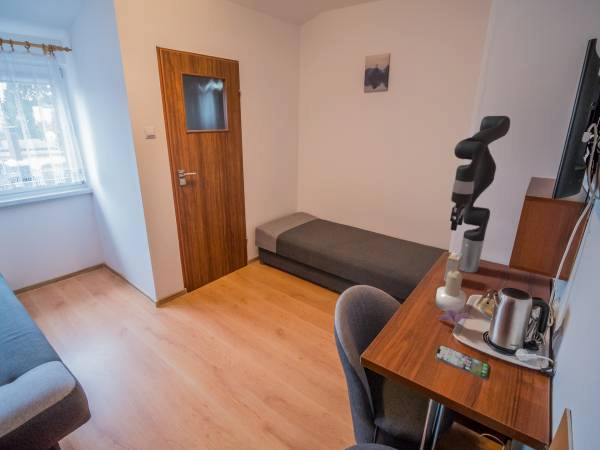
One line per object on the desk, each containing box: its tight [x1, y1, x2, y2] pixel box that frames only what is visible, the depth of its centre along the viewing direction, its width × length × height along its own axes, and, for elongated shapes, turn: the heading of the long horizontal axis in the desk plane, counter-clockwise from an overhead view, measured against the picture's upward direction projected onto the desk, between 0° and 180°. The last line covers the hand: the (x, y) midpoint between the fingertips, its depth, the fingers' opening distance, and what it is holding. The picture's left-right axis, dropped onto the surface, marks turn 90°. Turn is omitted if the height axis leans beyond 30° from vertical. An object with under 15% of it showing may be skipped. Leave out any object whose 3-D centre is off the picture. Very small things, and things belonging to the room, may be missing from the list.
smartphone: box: [434, 344, 491, 380], centre depth 97 cm, size 7×1×15 cm
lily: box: [436, 309, 474, 334], centre depth 111 cm, size 12×12×10 cm
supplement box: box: [443, 251, 462, 283], centre depth 144 cm, size 8×5×13 cm, turn 143°
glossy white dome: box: [434, 286, 468, 314], centre depth 125 cm, size 11×11×6 cm
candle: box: [445, 270, 464, 297], centre depth 123 cm, size 6×6×10 cm
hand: (456, 227), depth 131 cm, fingers open, 8 cm apart
